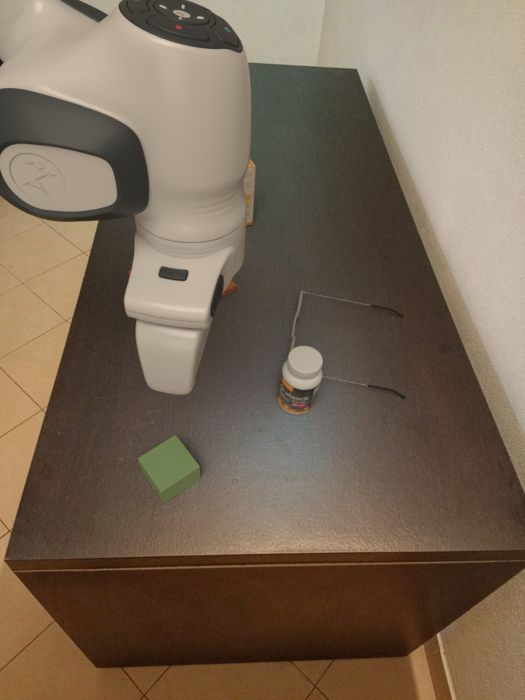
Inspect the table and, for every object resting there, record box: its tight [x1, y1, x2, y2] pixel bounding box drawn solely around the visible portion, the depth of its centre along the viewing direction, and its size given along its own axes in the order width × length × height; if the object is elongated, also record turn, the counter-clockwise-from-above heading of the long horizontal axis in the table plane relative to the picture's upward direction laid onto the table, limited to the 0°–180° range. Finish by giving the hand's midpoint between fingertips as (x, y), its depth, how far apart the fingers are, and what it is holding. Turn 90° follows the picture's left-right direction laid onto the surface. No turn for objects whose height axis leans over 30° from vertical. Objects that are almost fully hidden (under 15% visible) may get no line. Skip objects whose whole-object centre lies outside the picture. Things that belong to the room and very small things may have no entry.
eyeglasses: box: [289, 290, 407, 400], centre depth 76 cm, size 18×19×4 cm
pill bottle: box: [276, 345, 324, 416], centre depth 66 cm, size 6×6×10 cm
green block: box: [137, 434, 202, 504], centre depth 60 cm, size 6×6×4 cm
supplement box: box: [243, 158, 257, 227], centre depth 92 cm, size 8×5×13 cm, turn 111°
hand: (198, 344), depth 50 cm, fingers open, 8 cm apart
